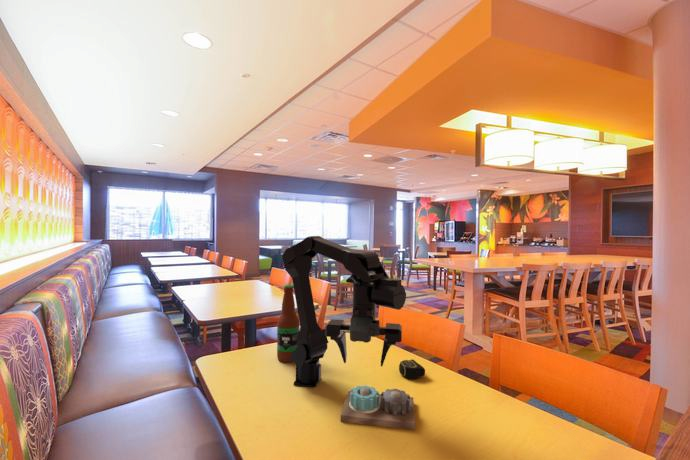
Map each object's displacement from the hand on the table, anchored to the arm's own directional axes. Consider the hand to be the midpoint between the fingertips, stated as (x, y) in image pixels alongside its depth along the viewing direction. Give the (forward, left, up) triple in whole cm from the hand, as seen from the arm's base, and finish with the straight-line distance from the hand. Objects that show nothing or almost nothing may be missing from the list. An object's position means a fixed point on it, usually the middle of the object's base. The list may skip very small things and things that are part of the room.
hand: (363, 364), depth 80 cm
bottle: (-28, +24, -11) cm, 39 cm away
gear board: (+4, -1, -11) cm, 12 cm away
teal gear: (+1, -1, -9) cm, 9 cm away
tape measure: (+13, +20, -11) cm, 27 cm away
